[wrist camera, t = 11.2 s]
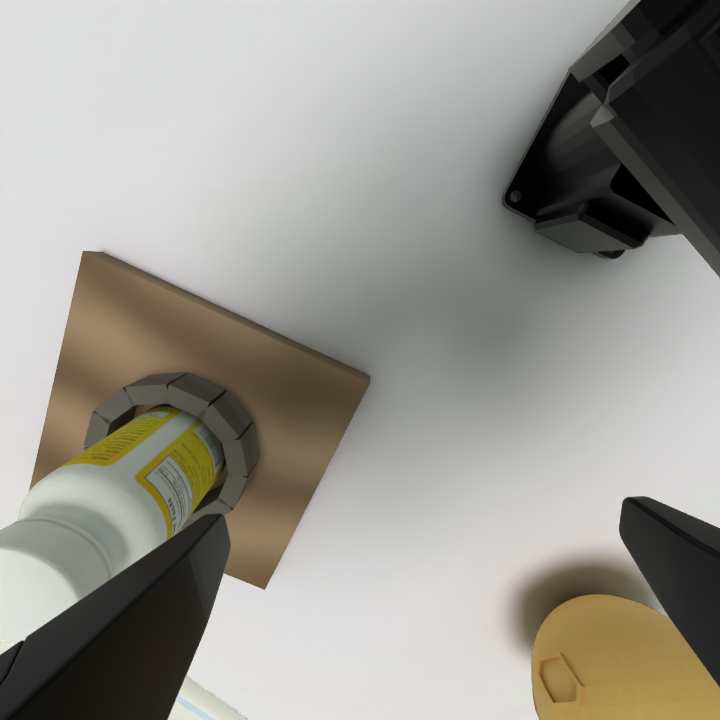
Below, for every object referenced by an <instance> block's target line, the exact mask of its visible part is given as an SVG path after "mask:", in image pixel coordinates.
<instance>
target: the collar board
mask: <svg viewBox="0 0 720 720" xmlns="http://www.w3.org/2000/svg"><path fill="white" fill-rule="evenodd" d="M369 383H370V376H368V375H366V374H364V373H362V372H360V371H358V370H356V369H353V368H351V367H349V366H347V365H345V364H343V363H340V362H338V361H336V360H334V359H332V358H330V357H327V356H325V355H323V354H321V353H319V352H317V351H314V350H312V349H310V348H308V347H306V346H304V345H302V344H299V343H297V342H295V341H293V340H291V339H289V338H286V337H284V336H282V335H280V334H278V333H276V332H273V331H271V330H269V329H267V328H265V327H263V326H260V325H258V324H256V323H254V322H252V321H250V320H248V319H245V318H243V317H241V316H239V315H237V314H235V313H232V312H230V311H228V310H226V309H224V308H222V307H219V306H217V305H215V304H213V303H211V302H209V301H206V300H204V299H202V298H200V297H198V296H196V295H193V294H191V293H189V292H187V291H185V290H183V289H181V288H178V287H176V286H174V285H172V284H170V283H168V282H165V281H163V280H161V279H159V278H157V277H155V276H152V275H150V274H148V273H146V272H144V271H142V270H139V269H137V268H135V267H133V266H131V265H129V264H127V263H124V262H122V261H120V260H118V259H116V258H114V257H111V256H109V255H107V254H105V253H103V252H93V251H83V253H82V258H81V262H80V267H79V271H78V276H77V280H76V284H75V289H74V293H73V298H72V302H71V307H70V311H69V316H68V320H67V325H66V329H65V333H64V338H63V342H62V347H61V351H60V356H59V360H58V365H57V369H56V374H55V378H54V383H53V387H52V391H51V396H50V400H49V405H48V409H47V414H46V418H45V423H44V427H43V432H42V436H41V440H40V445H39V449H38V454H37V458H36V463H35V467H34V472H33V476H32V481H31V485H30V490H31V489H32V488H33V487H34V486H35V484H37V483H38V482H39V481H40V480H42V479H43V478H44V477H46V476H47V475H49V474H50V473H51V472H53V471H54V470H56V469H57V468H59V467H60V466H62V465H64V464H65V463H67V462H68V461H70V460H71V459H73V458H74V457H76V456H78V455H79V454H81V453H82V452H84V451H85V450H87V449H89V448H90V447H92V446H93V445H95V444H96V443H98V442H99V441H101V440H102V439H104V438H106V437H107V436H109V435H110V434H112V433H113V432H115V431H116V430H118V429H120V428H121V427H123V426H124V425H126V424H127V423H129V422H130V421H132V420H133V419H135V418H136V417H138V416H139V415H141V414H143V413H144V412H146V411H147V410H149V409H151V408H152V407H154V406H156V405H158V404H164V403H167V404H170V405H172V406H174V407H176V408H179V409H181V410H183V411H186V412H188V413H190V414H193V415H195V416H197V417H199V418H200V419H201V420H202V421H203V422H204V423H205V424H206V426H207V427H208V428H209V429H210V430H211V431H212V432H213V434H214V435H215V436H216V437H217V438H218V439H219V441H220V442H221V443H222V445H223V450H224V455H225V459H226V466H225V468H224V469H223V471H222V473H221V474H220V476H219V477H218V478H217V480H216V481H215V483H214V484H213V485H212V487H211V488H210V489H209V491H208V492H207V493H206V495H205V496H204V497H203V499H202V500H201V502H200V503H199V504H198V506H197V507H196V508H195V510H194V511H193V512H192V514H191V515H190V517H189V518H188V519H187V521H186V522H185V523H184V525H183V526H182V527H181V529H180V530H179V532H180V531H181V530H183V529H184V528H186V527H187V526H189V525H190V524H192V523H193V522H195V521H196V520H198V519H199V518H200V517H202V516H203V515H205V514H218V513H221V514H223V515H224V516H225V519H226V523H227V527H228V532H229V536H230V541H231V549H230V554H229V557H228V560H227V564H226V567H225V570H224V573H225V574H227V575H230V576H232V577H235V578H237V579H240V580H242V581H245V582H247V583H249V584H252V585H254V586H257V587H259V588H262V589H264V590H265V588H266V586H267V584H268V582H269V580H270V578H271V576H272V574H273V572H274V570H275V569H276V567H277V565H278V563H279V561H280V559H281V557H282V555H283V553H284V551H285V549H286V547H287V545H288V543H289V541H290V539H291V537H292V535H293V533H294V531H295V529H296V527H297V525H298V523H299V521H300V519H301V517H302V515H303V513H304V511H305V509H306V507H307V505H308V503H309V501H310V500H311V498H312V496H313V494H314V492H315V490H316V488H317V486H318V484H319V482H320V480H321V478H322V476H323V474H324V472H325V470H326V468H327V466H328V464H329V462H330V460H331V458H332V456H333V454H334V452H335V450H336V448H337V446H338V444H339V442H340V440H341V438H342V436H343V434H344V433H345V431H346V429H347V427H348V425H349V423H350V421H351V419H352V417H353V415H354V413H355V411H356V409H357V407H358V405H359V403H360V401H361V399H362V397H363V395H364V393H365V391H366V389H367V387H368V385H369ZM30 490H29V491H30ZM179 532H178V533H179Z"/></svg>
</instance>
